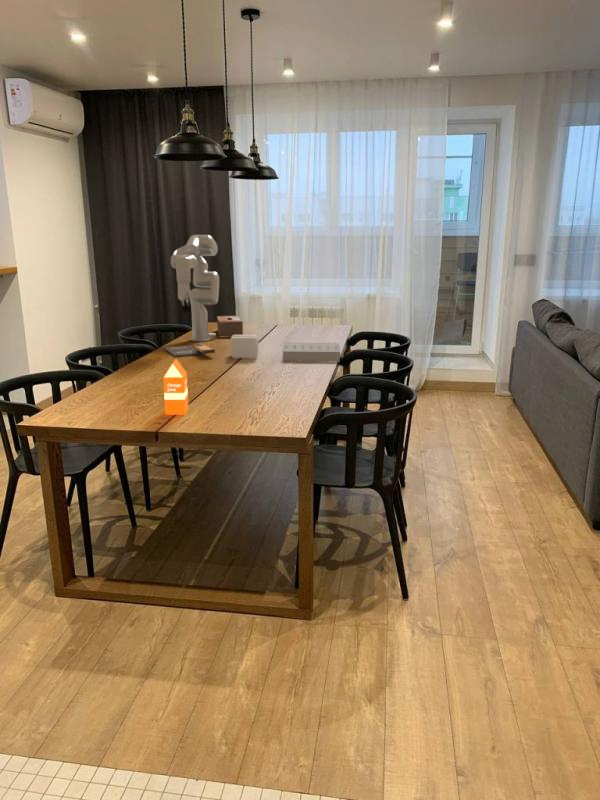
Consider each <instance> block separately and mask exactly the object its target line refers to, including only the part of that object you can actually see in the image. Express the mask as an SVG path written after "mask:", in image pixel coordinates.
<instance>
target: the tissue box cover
mask: <svg viewBox="0 0 600 800" xmlns="http://www.w3.org/2000/svg"><path fill="white" fill-rule="evenodd" d="M243 321H244V320H242V319H241V317H240V316H239V315H221V316H220V315H219V316H216V323H217V327H216V328H217V333H218V332H219V333H218V335H220V336H233V335H244V331H243V330H244V327H243V326H244V325H243V323H244V322H243ZM220 336H219V337H220Z"/></svg>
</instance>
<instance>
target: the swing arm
mask: <svg viewBox="0 0 600 800" xmlns="http://www.w3.org/2000/svg"><path fill="white" fill-rule="evenodd" d="M194 347H195V349H197V350H198V351H200V352H202V353H203V355H206V354H215V352H216V351H215V348H211V347H209V346H208V345H206V344H203V343H196V345H194Z"/></svg>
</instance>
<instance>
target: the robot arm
mask: <svg viewBox="0 0 600 800" xmlns="http://www.w3.org/2000/svg"><path fill="white" fill-rule="evenodd" d="M218 249H219V248H218V244H217V242H216V241H215V239H214V238H213V236H212V235H209V234H194V235H191V236H190V237H189V238H188V239H187V242H186V244H185V245H183V246H181V247H178V248H177V249H175V250H174V251H173V253H172V255H171V257H170V264H171V267H172V268H174V269H175V271H176V283H177V298H178V300H180V301H181V309H182V313H183V314H187V313H188V314H189V312H190V311H189V310H190V309H189V302H190V307H191V326H192V327H191V329H192V337H190V338H189V340H190V341H192V342H208V340H209V341H211V339H212V338H211V337H216V335H217V334H216V332H215V333H213V332H209V324H208V323H209V321H208V320H209V319H208V310H207V308H206V307H205V305H217V303H218V302H219V297H220V296H219V295H220V294H219V293H220V276H219V274H218V272H217V271H209V264H208V262H207V260H205V258H204V257H214V256H216V255H217V254H218ZM191 269H193V274H192V276H193V277H192V276H191ZM191 277H192V279H191ZM191 281H192V283H193V286H195V287H197V288H193V289H191V286H190V283H191Z"/></svg>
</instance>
